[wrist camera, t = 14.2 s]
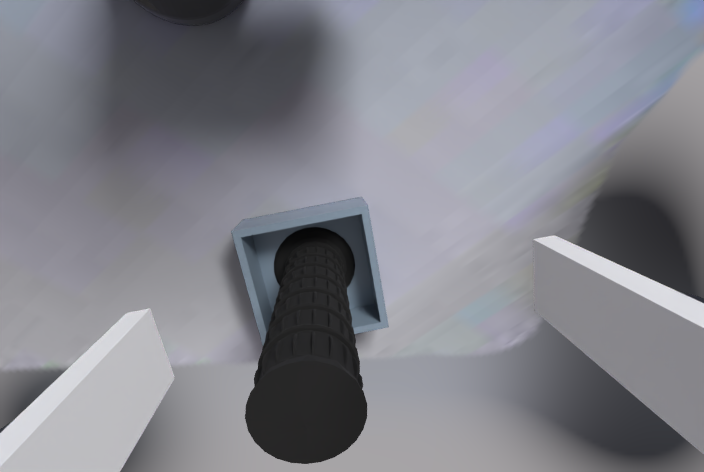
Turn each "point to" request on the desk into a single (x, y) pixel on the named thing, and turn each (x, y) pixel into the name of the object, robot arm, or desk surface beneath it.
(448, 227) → the desk surface
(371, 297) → the box
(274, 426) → the handle grip
